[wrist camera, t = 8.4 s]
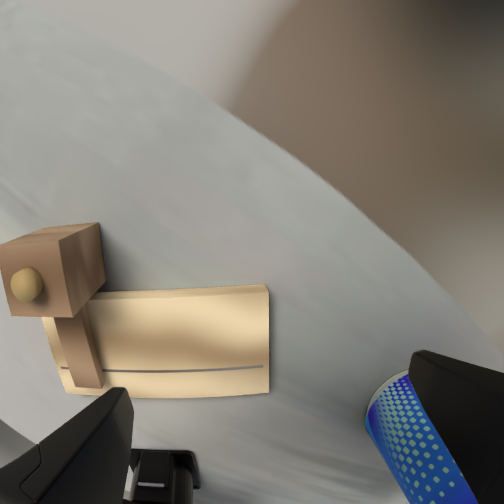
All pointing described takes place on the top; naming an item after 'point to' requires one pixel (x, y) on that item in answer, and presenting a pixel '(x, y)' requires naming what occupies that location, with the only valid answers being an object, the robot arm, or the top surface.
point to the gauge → (59, 289)
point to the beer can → (414, 446)
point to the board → (177, 342)
